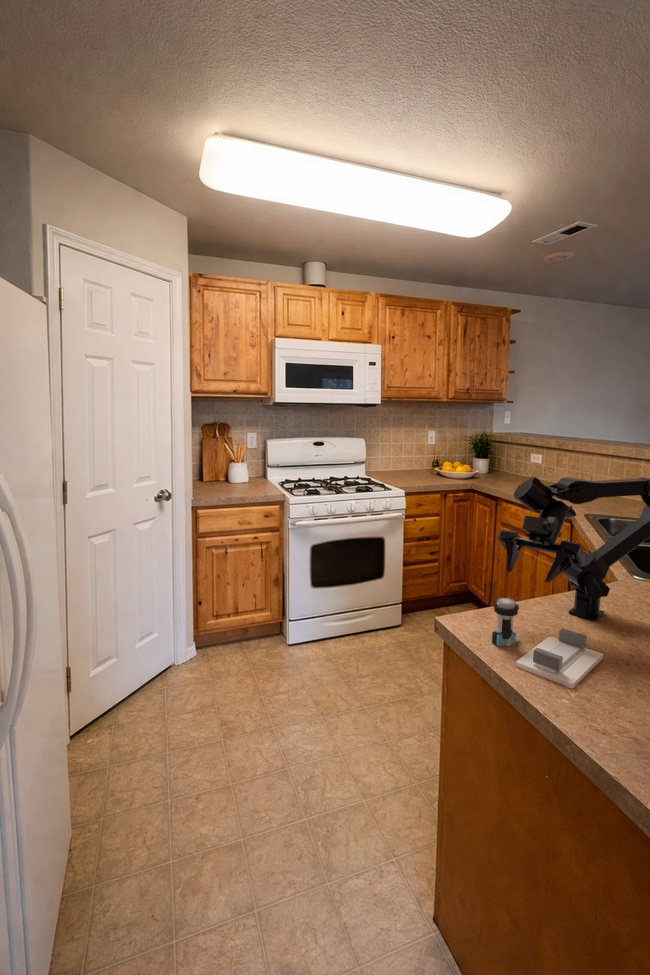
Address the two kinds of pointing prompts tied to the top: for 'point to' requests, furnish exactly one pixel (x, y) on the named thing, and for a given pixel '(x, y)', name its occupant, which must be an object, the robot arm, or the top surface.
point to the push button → (505, 622)
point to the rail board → (561, 658)
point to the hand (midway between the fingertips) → (527, 576)
